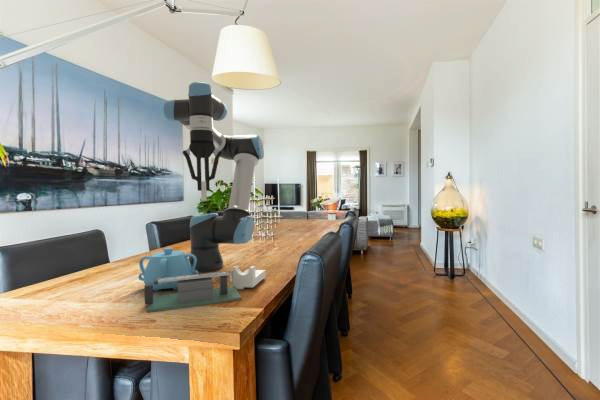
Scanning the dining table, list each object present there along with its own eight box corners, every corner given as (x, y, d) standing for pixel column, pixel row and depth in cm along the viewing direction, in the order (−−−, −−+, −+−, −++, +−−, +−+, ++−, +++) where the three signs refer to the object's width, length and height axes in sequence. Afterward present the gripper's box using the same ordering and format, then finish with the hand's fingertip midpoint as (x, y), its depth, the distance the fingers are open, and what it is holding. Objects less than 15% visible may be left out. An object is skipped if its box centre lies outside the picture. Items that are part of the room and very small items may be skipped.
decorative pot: (180, 277, 126) (178, 242, 125) (202, 285, 115) (201, 246, 115) (136, 287, 114) (134, 249, 113) (156, 297, 103) (154, 254, 103)
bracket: (252, 290, 109) (252, 267, 109) (233, 289, 111) (232, 267, 110) (265, 279, 122) (264, 259, 121) (247, 278, 123) (247, 258, 123)
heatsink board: (147, 299, 101) (146, 279, 101) (234, 288, 110) (234, 270, 110) (143, 313, 90) (142, 290, 90) (241, 299, 99) (240, 279, 99)
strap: (154, 287, 98) (154, 277, 97) (230, 278, 105) (230, 269, 105) (153, 290, 95) (153, 280, 94) (232, 281, 102) (231, 272, 102)
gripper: (181, 127, 104) (183, 201, 105) (222, 129, 108) (224, 200, 110) (180, 131, 111) (183, 200, 112) (220, 132, 115) (222, 199, 117)
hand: (204, 200), depth 111 cm, fingers closed
